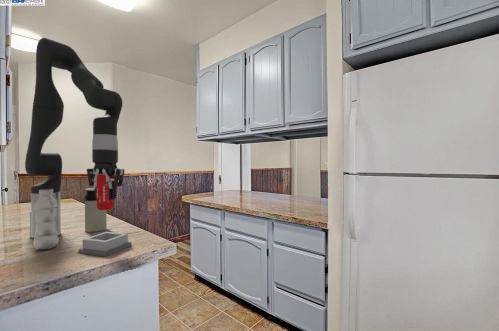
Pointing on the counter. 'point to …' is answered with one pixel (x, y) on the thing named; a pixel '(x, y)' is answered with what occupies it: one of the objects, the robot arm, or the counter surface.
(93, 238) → the can holder
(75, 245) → the counter surface
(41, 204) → the plastic bottle
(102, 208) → the beverage can
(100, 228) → the travel mug
